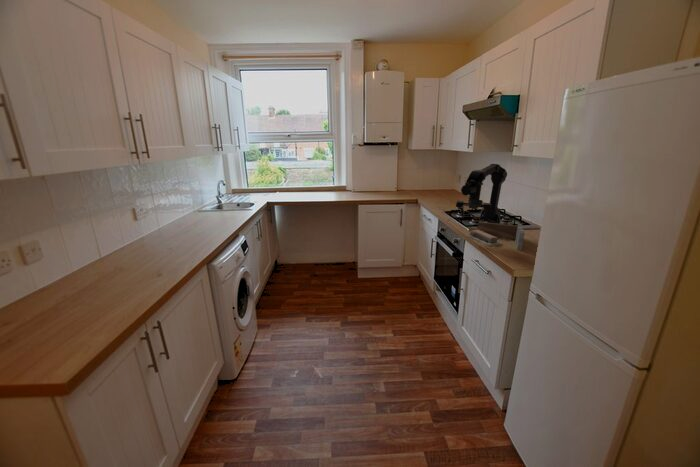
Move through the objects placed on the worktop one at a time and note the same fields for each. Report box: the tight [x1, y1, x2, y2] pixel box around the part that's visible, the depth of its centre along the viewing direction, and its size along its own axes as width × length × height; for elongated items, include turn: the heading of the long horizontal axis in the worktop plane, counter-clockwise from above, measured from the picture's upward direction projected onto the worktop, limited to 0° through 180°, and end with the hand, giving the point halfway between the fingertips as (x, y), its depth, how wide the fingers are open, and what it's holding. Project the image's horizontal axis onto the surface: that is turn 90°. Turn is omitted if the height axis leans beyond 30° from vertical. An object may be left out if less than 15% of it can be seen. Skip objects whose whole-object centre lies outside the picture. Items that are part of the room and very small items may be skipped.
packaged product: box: [467, 228, 502, 247], centre depth 180 cm, size 18×5×10 cm
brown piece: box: [477, 221, 526, 251], centre depth 177 cm, size 21×24×10 cm
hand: (471, 219), depth 177 cm, fingers open, 9 cm apart
